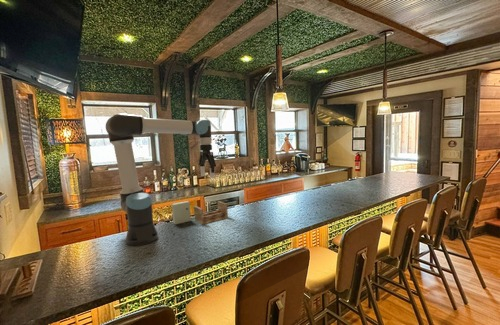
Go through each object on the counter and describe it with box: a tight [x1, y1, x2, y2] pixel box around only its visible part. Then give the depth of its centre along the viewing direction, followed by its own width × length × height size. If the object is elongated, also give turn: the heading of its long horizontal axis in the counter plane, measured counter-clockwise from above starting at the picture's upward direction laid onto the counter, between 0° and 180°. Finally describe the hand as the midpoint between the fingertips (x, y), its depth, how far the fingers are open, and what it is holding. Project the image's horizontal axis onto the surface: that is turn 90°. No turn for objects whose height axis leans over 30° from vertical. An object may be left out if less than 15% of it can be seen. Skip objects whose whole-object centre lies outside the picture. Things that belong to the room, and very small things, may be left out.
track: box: [193, 200, 229, 225], centre depth 156 cm, size 18×10×9 cm, turn 126°
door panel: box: [171, 200, 192, 225], centre depth 153 cm, size 10×4×12 cm, turn 126°
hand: (207, 177), depth 163 cm, fingers open, 13 cm apart
